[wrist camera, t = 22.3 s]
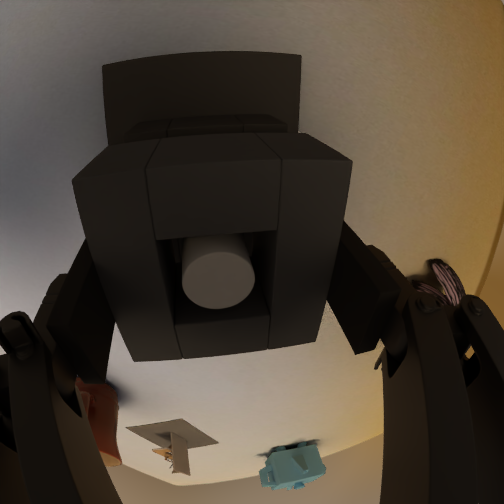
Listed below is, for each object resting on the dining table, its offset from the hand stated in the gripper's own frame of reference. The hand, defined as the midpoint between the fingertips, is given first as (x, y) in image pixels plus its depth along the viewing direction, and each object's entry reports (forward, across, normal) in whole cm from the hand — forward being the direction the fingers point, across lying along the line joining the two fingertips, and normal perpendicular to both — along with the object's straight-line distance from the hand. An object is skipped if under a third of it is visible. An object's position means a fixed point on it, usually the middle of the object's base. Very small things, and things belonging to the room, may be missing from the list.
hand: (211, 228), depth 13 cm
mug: (+8, -17, -25) cm, 31 cm away
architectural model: (+9, -10, -46) cm, 48 cm away
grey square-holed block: (0, 0, 0) cm, 0 cm away
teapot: (+9, +13, -66) cm, 68 cm away
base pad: (+8, 0, 0) cm, 8 cm away
